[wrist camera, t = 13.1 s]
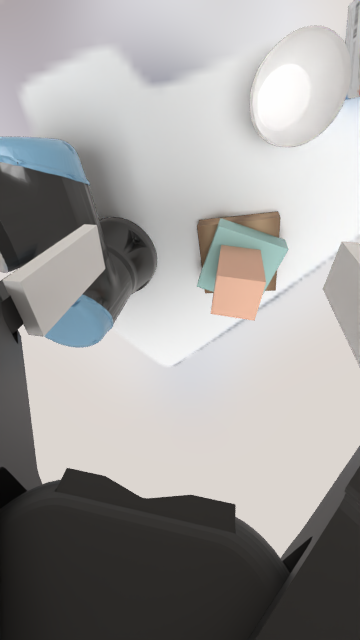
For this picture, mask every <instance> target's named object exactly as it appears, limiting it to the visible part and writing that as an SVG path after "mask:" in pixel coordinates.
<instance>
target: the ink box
mask: <svg viewBox="0 0 360 640" xmlns="http://www.w3.org/2000/svg"><path fill="white" fill-rule="evenodd" d="M346 46H347V49H348V51H349V55H350V60H351V79H350V85H349V89H348V93H347V96H346V99H351V98H355V97H360V0H354V1H353V2H352V3H351V4H350V5H349V6H348V20H347V32H346ZM346 99H345V100H346Z"/></svg>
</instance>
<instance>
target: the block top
mask: <svg viewBox="0 0 360 640" xmlns="http://www.w3.org/2000/svg"><path fill="white" fill-rule="evenodd" d="M221 245H227V246H234V247H242V248H250V249H258V250H261V256H262V261H263V267H264V272H265V278H266V285H265V288H264V291H265V290H266V288H267V286H268V284H269V283H270V281H271V279H272V277H273V276H274V274H275V272H276V270H277V269H278V267H279V265H280V263H281V262H282V260H283V258H284V256H285V255H286V253H287V251H288V247H287V244H286V241H285V240H284V239H281V238H278V237H275V236H272V235H269V234H266V233H263V232H260V231H257V230H254V229H251V228H249V227H246V226H243V225H240V224H237V223H234V222H231V221H228V220H225V219H222V218H220V220H219V223H218V226H217V229H216V232H215V234H214V237H213V240H212V243H211V246H210V248H209V251H208V254H207V257H206V260H205V262H204V265H203V268H202V271H201V273H200V276H199V280H198V284H197V287H200V288H203V289H206V290H209V291H212V292H214V286H215V279H216V273H217V267H218V261H219V255H220V249H221ZM264 291H263V293H264ZM262 295H263V294H262Z"/></svg>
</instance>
